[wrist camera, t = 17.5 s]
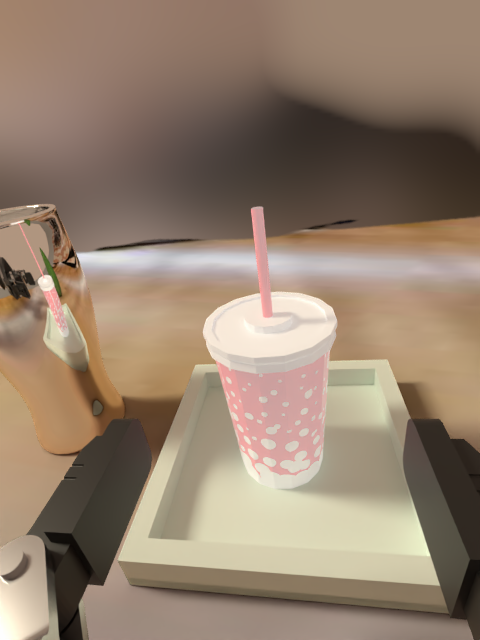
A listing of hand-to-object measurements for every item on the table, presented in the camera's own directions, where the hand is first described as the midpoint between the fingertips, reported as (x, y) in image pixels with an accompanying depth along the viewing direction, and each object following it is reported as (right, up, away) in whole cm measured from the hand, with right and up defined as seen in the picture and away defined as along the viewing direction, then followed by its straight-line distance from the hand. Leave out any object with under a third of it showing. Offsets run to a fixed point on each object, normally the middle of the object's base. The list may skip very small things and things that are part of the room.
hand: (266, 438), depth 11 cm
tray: (+2, -5, +10) cm, 11 cm away
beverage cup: (+2, -4, +10) cm, 11 cm away
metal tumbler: (-12, -4, +15) cm, 20 cm away
